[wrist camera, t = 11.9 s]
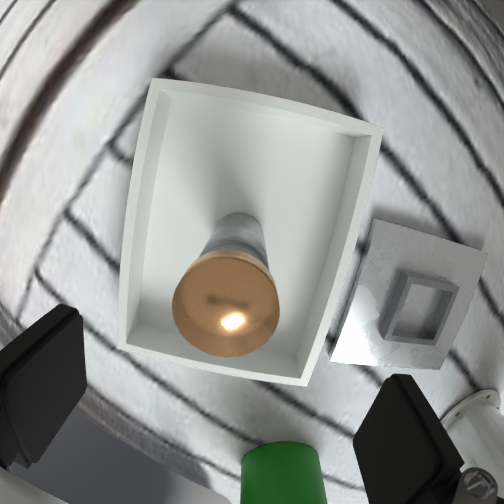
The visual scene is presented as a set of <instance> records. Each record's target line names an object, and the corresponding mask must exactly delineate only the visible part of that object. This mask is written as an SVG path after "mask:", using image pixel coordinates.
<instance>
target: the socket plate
mask: <svg viewBox="0 0 504 504" xmlns="http://www.w3.org/2000/svg"><path fill="white" fill-rule="evenodd" d="M487 254H488V253H486V252H484V251H481V250H478V249H475V248H472V247H469V246H466V245H463V244H460V243H457V242H454V241H451V240H448V239H445V238H442V237H438V236H435V235H432V234H429V233H425V232H422V231H419V230H416V229H412V228H409V227H405V226H402V225H398V224H395V223H391V222H388V221H384V220H381V219H377V218H374V217H373V221H372V225H371V228H370V232H369V236H368V239H367V243H366V246H365V249H364V253H363V256H362V259H361V263H360V266H359V269H358V272H357V276H356V279H355V282H354V285H353V288H352V291H351V294H350V297H349V300H348V303H347V306H346V309H345V312H344V314H343V317H342V320H341V323H340V326H339V328H338V331H337V334H336V336H335V339H334V342H333V344H332V347H331V350H330V352H329V355H328V356H329V359H330V361H335V362H343V363H353V364H363V365H373V366H385V367H398V368H414V369H435V370H439V369H440V367H441V366H442V364H443V362H444V360H445V358H446V356H447V354H448V352H449V350H450V348H451V346H452V343H453V341H454V339H455V337H456V335H457V333H458V330H459V328H460V326H461V324H462V321H463V319H464V317H465V314H466V312H467V310H468V307H469V305H470V302H471V300H472V297H473V294H474V292H475V289H476V286H477V284H478V281H479V278H480V275H481V272H482V269H483V266H484V263H485V260H486V257H487Z"/></svg>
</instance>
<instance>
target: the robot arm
mask: <svg viewBox="0 0 504 504" xmlns="http://www.w3.org/2000/svg"><path fill="white" fill-rule="evenodd" d="M86 387H87V378H86V367H85V353H84V334H83V317H82V316H81V315H79V312H78V310H77V309H76V308H73V307H70V306H67V305H64V304H59V305H57V306H56V307H55V308H53V309H52V310H51V311H49V312H48V313H47V314H45V315H44V316H43V317H42V318H40V319H39V320H38V321H36V322H35V323H34V324H33V325H31V326H30V327H29V328H28V329H26V330H25V331H24V332H23V333H21V334H20V335H19V336H18V337H16V338H15V339H14V340H13V341H12V342H10V343H9V344H8V345H7V346H5V347H4V348H3V349H2V350H1V351H0V504H68V503H66V502H64V501H62V500H60V499H58V498H55V497H54V496H52V495H50V494H48V493H46V492H44V491H42V490H40V489H38V488H36V487H34V486H32V485H30V484H29V483H27V482H25V481H23V480H22V479H20V478H18V477H16V476H15V475H13V474H11V470H10V465H11V464H12V462H13V461H15V462H17V463H18V464H20V465H22V466H23V467H25V468H27V469H28V468H29V467H30V465H31V464H32V462H33V463H37V462H38V461H39V460H40V457H41V456H42V455H43V453H44V452H45V450H46V449H47V447H48V446H49V444H50V443H51V441H52V440H53V438H54V437H55V435H56V434H57V432H58V430H59V429H60V428H61V426H62V425H63V423H64V422H65V420H66V419H67V417H68V416H69V414H70V413H71V412H72V410H73V409H74V407H75V406H76V404H77V403H78V402H79V400H80V399H81V397H82V396H83V394H84V393H85V391H86ZM500 404H501V399H500V396H499V394H498V393H497V392H496V391H495V390H492V389H485V390H481V391H479V392H476V393H474V394H472V395H470V396H468V397H467V398H465V399H464V400H462V401H461V402H460V403H458V404H457V405H456V406H455V407H454V408H453V409H451V410H450V411H449V412H448V413H447V414H446V415H445V417H444V418H443V419H442V420H441V421H440V420H439V418H438V417H437V415H436V414H435V412H434V410H433V409H432V407H431V405H430V404H429V402H428V401H427V399H426V398H425V396H424V394H423V393H422V391H421V390H420V388H419V387H418V385H417V384H416V382H415V380H414V379H413V377H412V376H411V375H408V374H392V375H391V376H390V378H387V379H386V380H385V381H384V383H383V385H382V387H381V389H380V391H379V393H378V395H377V397H376V399H375V400H374V402H373V404H372V406H371V408H370V410H369V411H368V413H367V415H366V417H365V419H364V420H363V422H362V424H361V426H360V427H359V429H358V431H357V432H356V434H355V436H354V439H353V447H354V451H355V454H356V458H357V461H358V465H359V468H360V472H361V475H362V479H363V483H364V486H365V490H366V494H367V497H368V501H369V504H504V417H503V416H502V415H501V413H500V412H499V408H500Z"/></svg>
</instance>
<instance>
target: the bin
mask: <svg viewBox="0 0 504 504" xmlns="http://www.w3.org/2000/svg"><path fill="white" fill-rule="evenodd" d="M383 129H384V128H382V127H379V126H377V125H374V124H371V123H368V122H365V121H362V120H359V119H356V118H353V117H349V116H346V115H343V114H340V113H336V112H333V111H330V110H326V109H323V108H319V107H315V106H312V105H308V104H304V103H300V102H296V101H292V100H288V99H284V98H279V97H275V96H270V95H266V94H261V93H256V92H251V91H246V90H240V89H235V88H229V87H223V86H217V85H210V84H203V83H196V82H188V81H180V80H170V79H160V78H152V80H151V84H150V88H149V91H148V95H147V100H146V104H145V108H144V112H143V117H142V121H141V126H140V131H139V136H138V141H137V146H136V151H135V156H134V162H133V168H132V174H131V180H130V186H129V193H128V200H127V207H126V215H125V223H124V232H123V242H122V252H121V264H120V277H119V294H118V319H117V349H121V350H124V351H128V352H131V353H135V354H138V355H142V356H146V357H150V358H154V359H157V360H161V361H165V362H170V363H174V364H178V365H182V366H187V367H191V368H196V369H200V370H205V371H210V372H215V373H220V374H225V375H231V376H236V377H242V378H248V379H254V380H260V381H267V382H273V383H281V384H288V385H296V386H304V387H307V385H308V382H309V380H310V377H311V375H312V372H313V370H314V367H315V365H316V362H317V359H318V357H319V354H320V351H321V349H322V346H323V343H324V341H325V338H326V335H327V332H328V329H329V327H330V324H331V321H332V318H333V315H334V312H335V309H336V306H337V303H338V300H339V297H340V294H341V291H342V288H343V285H344V282H345V279H346V275H347V272H348V269H349V266H350V262H351V259H352V256H353V252H354V249H355V245H356V242H357V238H358V235H359V231H360V227H361V224H362V220H363V216H364V212H365V209H366V205H367V201H368V197H369V193H370V189H371V184H372V180H373V176H374V172H375V167H376V163H377V158H378V154H379V149H380V144H381V139H382V134H383ZM234 212H243V213H247V214H250V215H251V216H253V217H254V218H256V219H257V220H258V222H259V223H260V225H261V226H262V229H263V233H264V239H265V246H266V252H267V259H268V265H269V271H270V273H271V275H272V276H273V279H274V281H275V284H276V288H277V293H278V299H279V305H280V317H279V322H278V325H277V328H276V330H275V332H274V334H273V335H272V336H271V338H270V339H269V340H268V341H267V342H266V343H265V344H264V345H263V346H262V347H260V348H259V349H257V350H255V351H253V352H251V353H249V354H246V355H243V356H237V357H219V356H214V355H210V354H207V353H205V352H203V351H201V350H199V349H197V348H196V347H194V346H193V345H191V344H190V343H189V342H188V341H187V340H186V339H185V338H184V337H183V336H182V334H181V333H180V332H179V330H178V328H177V326H176V324H175V321H174V318H173V314H172V300H173V295H174V292H175V289H176V287H177V285H178V284H179V282H180V280H181V278H182V277H183V275H184V273H185V272H186V270H187V269H188V267H189V266H190V265H191V264H192V263H193V262H194V261H195V260H196V259H198V258H199V256H200V254H201V252H202V250H203V249H204V247H205V245H206V243H207V242H208V240H209V238H210V236H211V235H212V233H213V231H214V229H215V228H216V226H217V224H218V222H219V221H220V220H221V219H222V218H223V217H225V216H226V215H228V214H230V213H234Z"/></svg>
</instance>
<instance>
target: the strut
mask: <svg viewBox="0 0 504 504" xmlns="http://www.w3.org/2000/svg"><path fill="white" fill-rule="evenodd" d="M172 314H173V318H174V321H175V324H176V326H177V328H178V330H179V332H180V333H181V334H182V336H183V337H184V338H185V339H186V340H187V341H188V342H189V343H190V344H191V345H193V346H194V347H196V348H197V349H199V350H201V351H203V352H205V353H207V354H210V355H214V356H219V357H237V356H243V355H246V354H249V353H251V352H253V351H255V350H257V349H259V348H260V347H262V346H263V345H264V344H265V343H266V342H267V341H268V340H269V339H270V338H271V336H272V335H273V334H274V332H275V330H276V328H277V325H278V322H279V317H280V305H279V299H278V293H277V288H276V284H275V281H274V279H273V276H272V275H271V273H270V271H269V265H268V259H267V252H266V246H265V239H264V233H263V229H262V226H261V225H260V223H259V222H258V220H257V219H256V218H254V217H253V216H251V215H250V214H247V213H243V212H234V213H230V214H228V215H226V216H225V217H223V218H222V219H221V220H220V221H219V222H218V224H217V226H216V228H215V229H214V231H213V233H212V235H211V236H210V238H209V240H208V242H207V243H206V245H205V247H204V249H203V250H202V252H201V254H200V256H199V258H198V259H196V260H195V261H194V262H193V263H192V264H191V265H190V266H189V267H188V269H187V270H186V272H185V273H184V275H183V277H182V278H181V280H180V282H179V284H178V285H177V287H176V289H175V292H174V295H173V300H172Z"/></svg>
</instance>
